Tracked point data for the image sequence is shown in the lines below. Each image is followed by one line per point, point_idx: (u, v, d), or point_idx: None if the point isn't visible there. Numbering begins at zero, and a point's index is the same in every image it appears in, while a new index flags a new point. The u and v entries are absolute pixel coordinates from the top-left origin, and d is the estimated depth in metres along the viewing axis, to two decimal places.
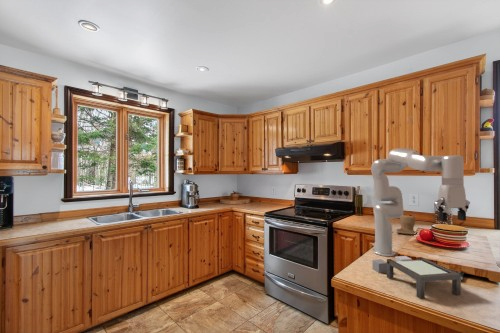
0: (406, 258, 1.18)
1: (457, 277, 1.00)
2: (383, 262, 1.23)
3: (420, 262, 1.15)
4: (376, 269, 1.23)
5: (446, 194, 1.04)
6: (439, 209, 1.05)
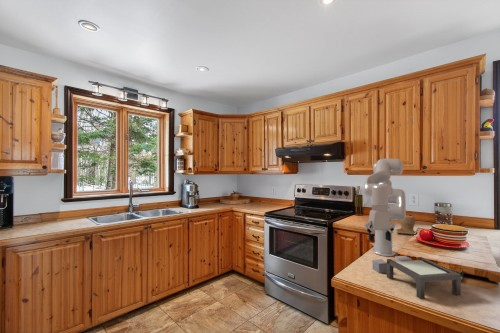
0: (406, 258, 1.17)
1: (457, 277, 1.00)
2: (383, 262, 1.23)
3: (420, 262, 1.15)
4: (376, 269, 1.23)
5: (373, 219, 1.22)
6: (368, 231, 1.23)
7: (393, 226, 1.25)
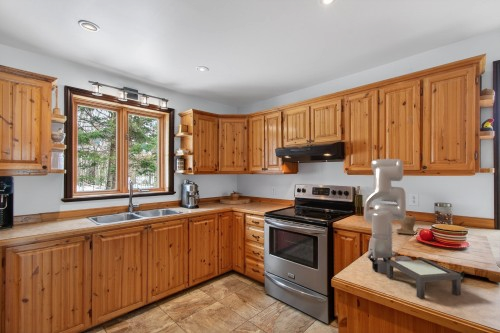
0: (406, 258, 1.17)
1: (457, 277, 1.00)
2: (383, 262, 1.23)
3: (420, 262, 1.15)
4: None
5: (373, 247, 1.22)
6: (371, 261, 1.23)
7: (391, 256, 1.25)
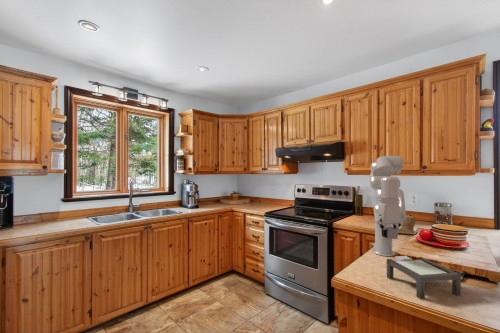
0: (406, 258, 1.17)
1: (457, 277, 1.00)
2: (393, 228, 1.19)
3: (420, 262, 1.15)
4: None
5: (383, 212, 1.18)
6: (380, 226, 1.19)
7: (401, 222, 1.20)
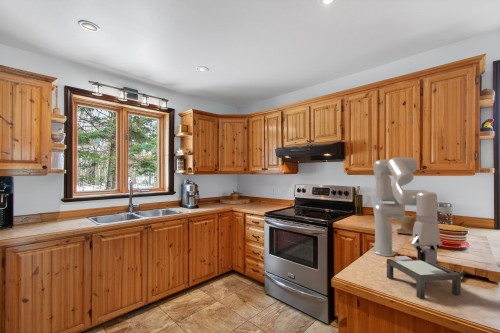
0: (406, 258, 1.17)
1: (457, 277, 1.00)
2: (431, 250, 1.04)
3: (420, 262, 1.15)
4: None
5: (420, 232, 1.04)
6: (417, 248, 1.05)
7: (439, 243, 1.06)
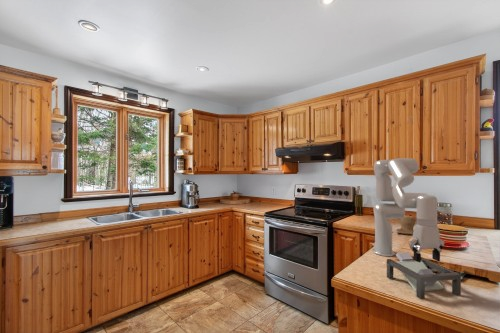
0: (407, 258, 1.17)
1: (457, 277, 1.00)
2: None
3: (420, 264, 1.15)
4: None
5: (420, 235, 1.04)
6: (413, 250, 1.05)
7: (442, 243, 1.06)
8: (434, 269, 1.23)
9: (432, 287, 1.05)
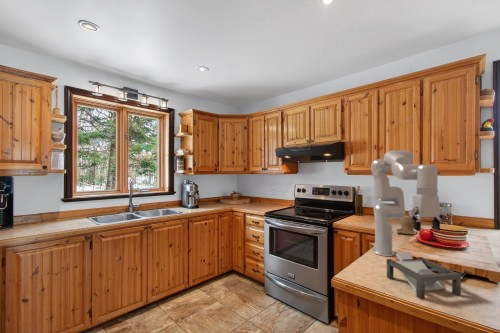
0: (407, 258, 1.17)
1: (457, 277, 1.00)
2: None
3: (420, 264, 1.15)
4: None
5: (420, 204, 1.04)
6: (413, 218, 1.05)
7: (442, 213, 1.07)
8: (434, 269, 1.24)
9: (432, 287, 1.05)
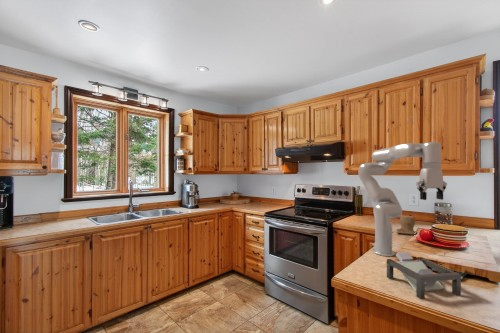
0: (407, 258, 1.17)
1: (457, 277, 1.00)
2: None
3: (420, 264, 1.15)
4: None
5: (426, 176, 1.19)
6: (419, 189, 1.20)
7: (445, 184, 1.21)
8: (435, 269, 1.24)
9: (432, 287, 1.05)
